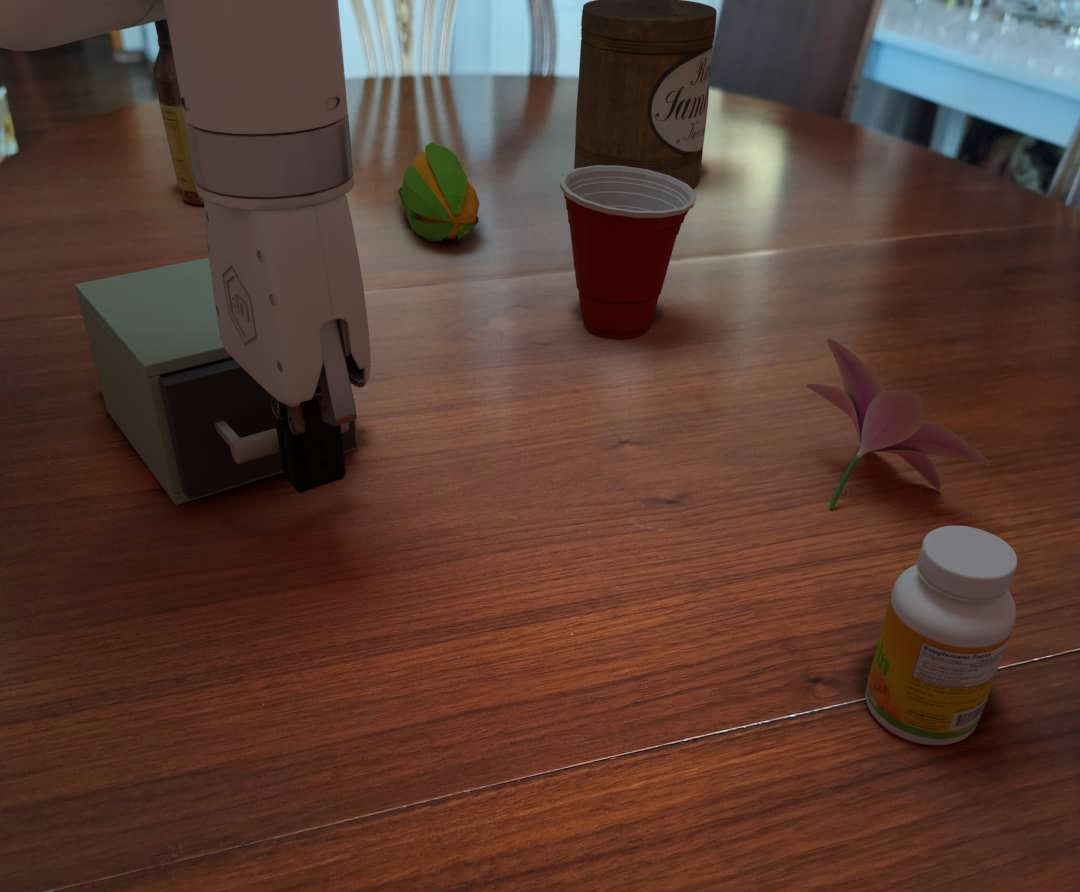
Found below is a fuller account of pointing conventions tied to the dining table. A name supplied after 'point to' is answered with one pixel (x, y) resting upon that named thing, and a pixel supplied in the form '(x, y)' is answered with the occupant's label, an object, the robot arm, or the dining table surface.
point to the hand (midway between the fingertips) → (315, 479)
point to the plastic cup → (622, 242)
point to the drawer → (223, 427)
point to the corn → (439, 195)
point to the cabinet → (151, 351)
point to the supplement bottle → (943, 637)
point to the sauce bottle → (174, 115)
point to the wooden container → (644, 85)
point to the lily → (890, 420)
